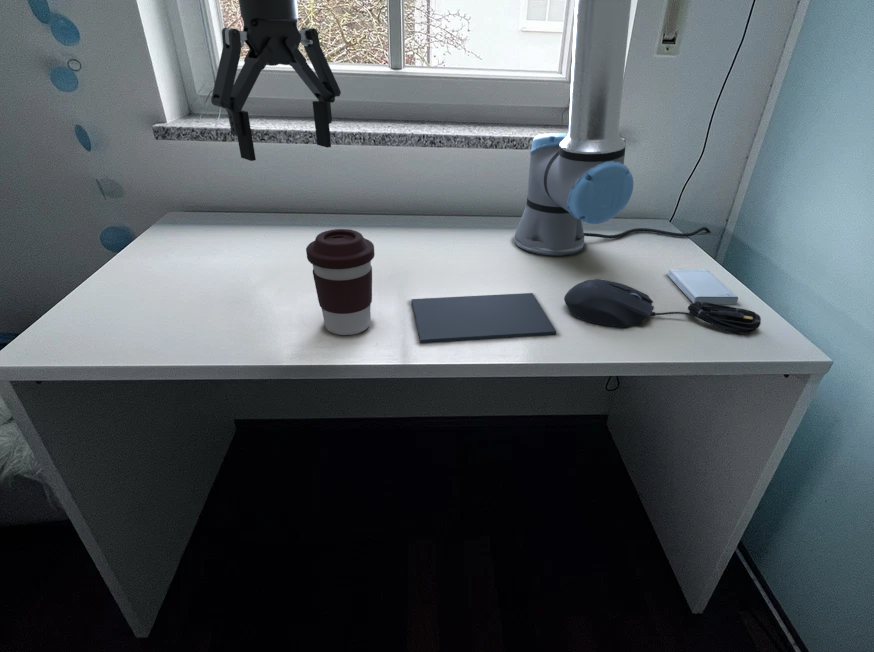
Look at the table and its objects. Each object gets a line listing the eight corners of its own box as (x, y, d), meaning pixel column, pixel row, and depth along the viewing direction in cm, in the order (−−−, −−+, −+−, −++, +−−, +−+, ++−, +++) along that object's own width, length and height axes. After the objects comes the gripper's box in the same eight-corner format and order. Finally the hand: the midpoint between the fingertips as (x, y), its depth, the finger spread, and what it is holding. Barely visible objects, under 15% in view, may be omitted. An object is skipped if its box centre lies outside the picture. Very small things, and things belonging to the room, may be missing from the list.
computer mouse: (562, 298, 99) (566, 270, 96) (746, 314, 96) (756, 285, 93) (563, 323, 91) (567, 293, 88) (764, 341, 88) (775, 311, 85)
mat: (532, 295, 100) (532, 292, 99) (556, 334, 88) (556, 331, 88) (411, 302, 96) (411, 298, 96) (420, 343, 85) (420, 339, 84)
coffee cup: (366, 344, 84) (359, 252, 75) (306, 336, 85) (292, 244, 77) (386, 314, 92) (382, 228, 84) (331, 307, 93) (321, 222, 85)
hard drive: (739, 296, 98) (708, 268, 109) (695, 296, 98) (668, 268, 108) (736, 305, 99) (706, 276, 110) (692, 305, 99) (666, 275, 109)
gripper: (324, -11, 83) (337, 137, 95) (158, -20, 67) (198, 160, 78) (356, -10, 79) (366, 144, 91) (188, -19, 63) (226, 170, 74)
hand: (288, 152), depth 84 cm, fingers open, 13 cm apart
